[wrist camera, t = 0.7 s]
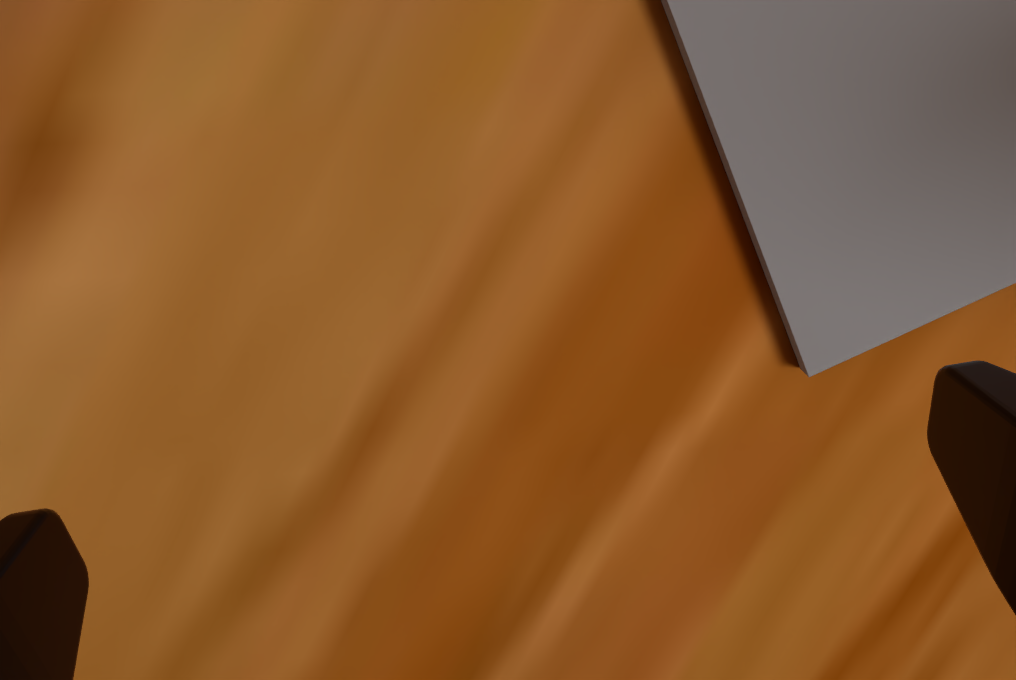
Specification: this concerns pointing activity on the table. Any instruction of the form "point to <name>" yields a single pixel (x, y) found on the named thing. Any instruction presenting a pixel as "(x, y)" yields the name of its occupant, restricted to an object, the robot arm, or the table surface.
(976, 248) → the mat
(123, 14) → the table surface
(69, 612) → the robot arm
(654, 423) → the table surface
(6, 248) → the table surface
